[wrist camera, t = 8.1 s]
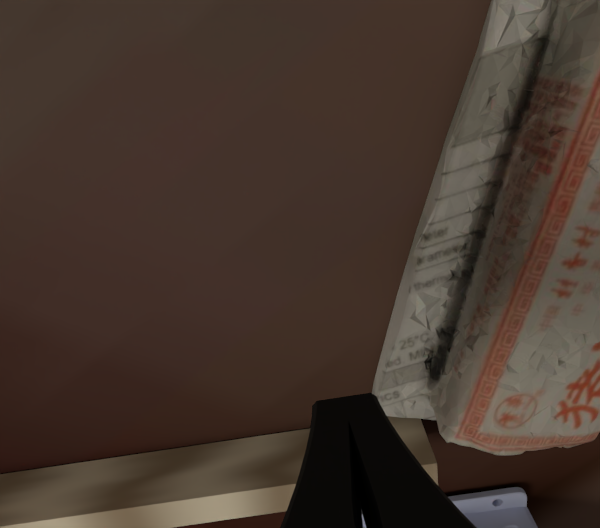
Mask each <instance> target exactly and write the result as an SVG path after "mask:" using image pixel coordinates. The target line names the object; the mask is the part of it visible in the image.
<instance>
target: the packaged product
mask: <svg viewBox="0 0 600 528" xmlns="http://www.w3.org/2000/svg"><path fill="white" fill-rule="evenodd" d="M372 394H374V395H375V396H377V399H378V401H379V403H380V405H381V407H382V409H383V410H384V412H385V414H386V416H391V417H400V418H419V419H428V420H437V424H438V429H439V433H440V434H441V436H442V437H443V438H444V440H445V441H446V442H447V443H449V442H453V443H456V444H459V445H462V446H469V447H473V448H476V449H479V450H482V451H485V452H488V453H492V454H495V455H517V454H522V453H523V452H525V451H535V450H541V449H548V448H552V447H556V446H557V447H560V448H561V447H565V448H570V447H573V446H576V445H580V444H583V443H587V442H590V441H593V440H594V439H595V438H596V437H597V435H598V434H599V432H600V0H491V3H490V6H489V10H488V13H487V16H486V20H485V23H484V26H483V30H482V33H481V37H480V41H479V45H478V49H477V51H476V54H475V57H474V60H473V63H472V66H471V68H470V71H469V74H468V77H467V80H466V83H465V85H464V88H463V91H462V94H461V97H460V100H459V102H458V105H457V108H456V111H455V114H454V117H453V119H452V122H451V125H450V128H449V131H448V133H447V136H446V139H445V142H444V145H443V150H442V153H441V156H440V160H439V163H438V166H437V169H436V172H435V175H434V178H433V181H432V185H431V188H430V191H429V194H428V197H427V200H426V203H425V206H424V209H423V212H422V215H421V218H420V221H419V224H418V227H417V230H416V234H415V237H414V240H413V244H412V247H411V250H410V253H409V257H408V260H407V263H406V267H405V270H404V274H403V277H402V281H401V284H400V287H399V290H398V293H397V297H396V301H395V304H394V308H393V312H392V316H391V319H390V323H389V327H388V330H387V334H386V338H385V342H384V345H383V349H382V353H381V356H380V360H379V364H378V368H377V371H376V375H375V379H374V384H373V390H372Z"/></svg>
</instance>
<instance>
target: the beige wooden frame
mask: <svg viewBox="0 0 600 528" xmlns="http://www.w3.org/2000/svg"><path fill="white" fill-rule="evenodd" d="M388 419H389V421H390V422H391V424H392V425H393V427H394V428H395V430H396V431H397V433H398V434H399V436H400V437H401V439H402V440H403V442H404V443H405V444H406V446H407V447H408V448H409V450H410V451H411V452H412V454H413V455H414V456H415V458H416V459H417V460H418V462H419V463H420V464H421V466H422V467H423V468H424V469H425V471H426V472H427V473H428V474H429V476H430V477H431V478H432V479H433V480H434V482H435V483H436V484H437V485H438V475H437V462H436V459H435V457H434V454H433V451H432V448H431V446H430V443H429V440H428V438H427V435H426V432H425V429H424V427H423V424H422V421H421V419H419V418H400V417H391V416H390V417H388ZM309 433H310V428H309V429H303V430H296V431H289V432H282V433H276V434H269V435H262V436H255V437H249V438H242V439H235V440H228V441H222V442H215V443H208V444H202V445H195V446H188V447H181V448H175V449H168V450H161V451H154V452H148V453H141V454H134V455H127V456H121V457H114V458H107V459H100V460H94V461H87V462H80V463H73V464H67V465H60V466H53V467H47V468H40V469H33V470H26V471H20V472H13V473H6V474H0V528H172V527H179V526H186V525H193V524H200V523H207V522H214V521H221V520H228V519H235V518H242V517H249V516H256V515H263V514H270V513H276V512H283V511H287V509H288V506H289V503H290V500H291V497H292V494H293V491H294V489H295V486H296V483H297V479H298V476H299V473H300V469H301V465H302V462H303V458H304V455H305V451H306V447H307V442H308V437H309Z"/></svg>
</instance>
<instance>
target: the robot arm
mask: <svg viewBox="0 0 600 528" xmlns="http://www.w3.org/2000/svg"><path fill="white" fill-rule="evenodd" d="M280 528H538V527H537V525H536V523H535V521H534V519H533V517H532V516H531V514H530V512H529V510H528V508H527V495H526V493H525V491H524V490H523V489H522V488H520V487H511V488H504V489H497V490H490V491H483V492H476V493H469V494H462V495H456V496H449V497H447V496H446V494H445V493H444V492H443V491H442V490H441V489H440V487H439V486H438V485H437V484H436V483H435V482H434V480H433V479H432V478H431V477H430V476H429V474H428V473H427V472H426V471H425V469H424V468H423V467H422V466H421V464H420V463H419V462H418V460H417V459H416V458H415V456H414V455H413V454H412V452H411V451H410V450H409V448H408V447H407V446H406V444H405V443H404V442H403V440H402V439H401V437H400V436H399V434H398V433H397V431H396V430H395V428H394V427H393V425H392V424H391V422H390V421H389V419H388V417H387V416H386V414H385V412H384V410H383V409H382V407H381V405H380V403H379V401H378V399H377V396H375V395H374V394H372V393H367V394H360V395H353V396H347V397H340V398H333V399H327V400H320V401H316V402H315V404H314V405H313V406H312V420H311V427H310V433H309V437H308V442H307V447H306V451H305V455H304V458H303V462H302V465H301V469H300V473H299V476H298V479H297V483H296V486H295V489H294V491H293V494H292V497H291V500H290V503H289V506H288V509H287V511H286V514H285V517H284V520H283V522H282V525H281V527H280Z"/></svg>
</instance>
